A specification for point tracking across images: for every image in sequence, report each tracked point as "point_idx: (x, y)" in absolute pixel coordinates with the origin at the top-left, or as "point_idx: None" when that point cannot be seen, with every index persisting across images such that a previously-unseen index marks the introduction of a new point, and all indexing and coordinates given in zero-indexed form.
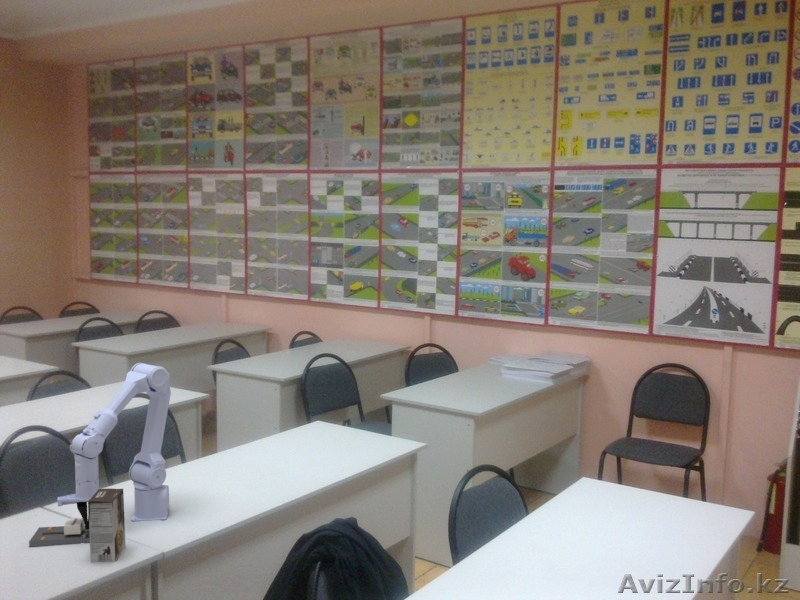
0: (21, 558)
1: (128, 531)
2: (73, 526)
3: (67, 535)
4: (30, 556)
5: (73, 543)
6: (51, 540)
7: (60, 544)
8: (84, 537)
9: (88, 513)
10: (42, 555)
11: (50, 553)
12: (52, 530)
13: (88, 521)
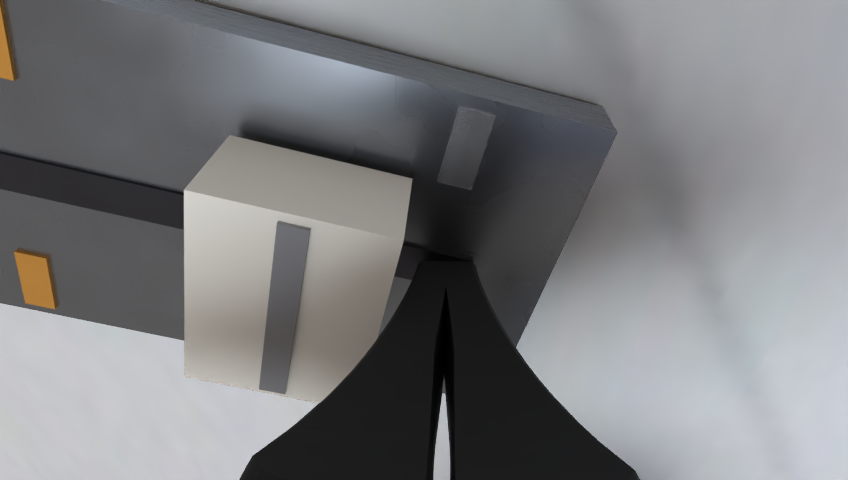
0: (11, 389)
1: (826, 248)
2: (290, 387)
3: None
4: (60, 384)
5: None
6: (132, 325)
7: None
8: None
9: (452, 419)
10: (139, 399)
11: (186, 392)
12: (50, 106)
13: (447, 404)
